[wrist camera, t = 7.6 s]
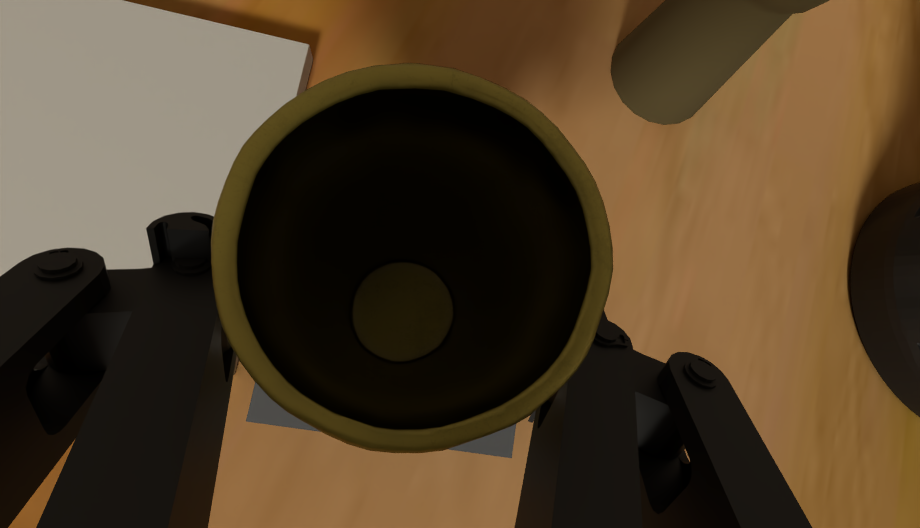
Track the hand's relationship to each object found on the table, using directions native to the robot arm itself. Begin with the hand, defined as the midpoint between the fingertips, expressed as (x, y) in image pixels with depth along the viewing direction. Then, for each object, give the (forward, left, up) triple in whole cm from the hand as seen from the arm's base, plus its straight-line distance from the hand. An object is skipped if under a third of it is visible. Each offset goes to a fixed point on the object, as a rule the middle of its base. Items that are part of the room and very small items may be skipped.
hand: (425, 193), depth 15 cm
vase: (0, +4, -6) cm, 7 cm away
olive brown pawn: (-12, -12, -8) cm, 19 cm away
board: (+15, 0, -8) cm, 17 cm away
